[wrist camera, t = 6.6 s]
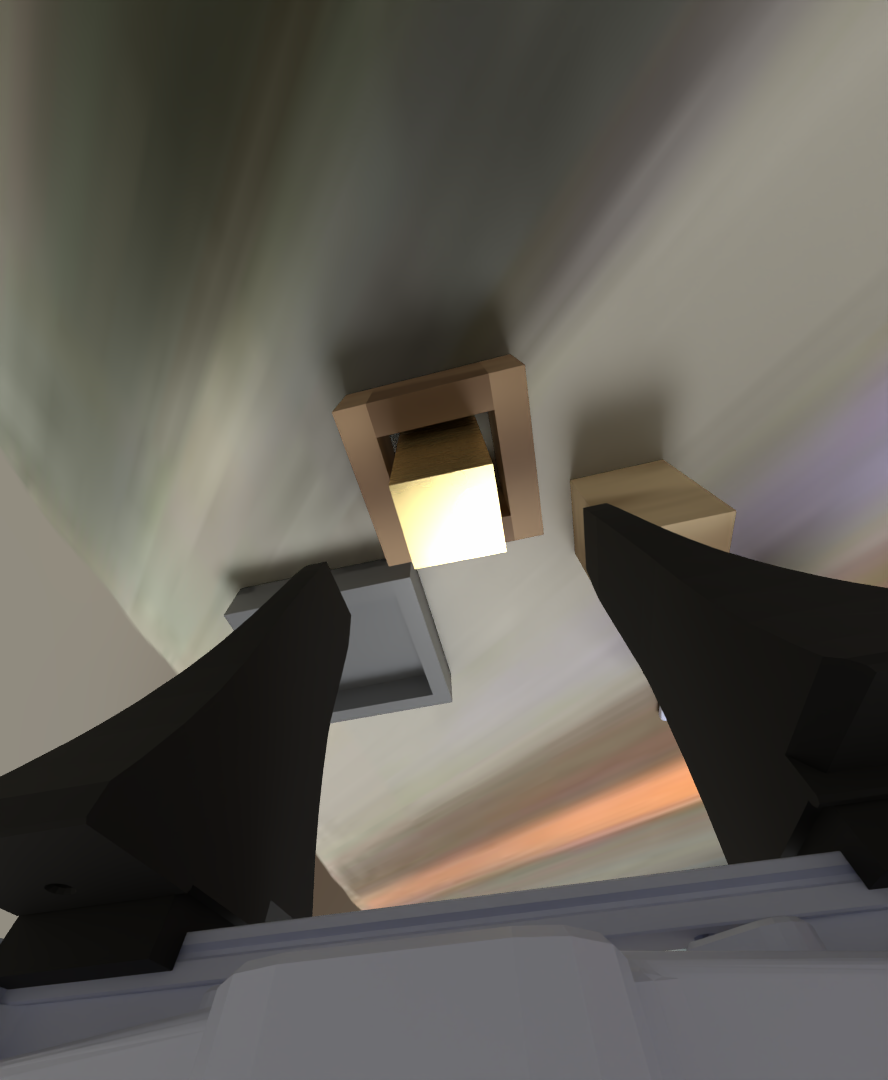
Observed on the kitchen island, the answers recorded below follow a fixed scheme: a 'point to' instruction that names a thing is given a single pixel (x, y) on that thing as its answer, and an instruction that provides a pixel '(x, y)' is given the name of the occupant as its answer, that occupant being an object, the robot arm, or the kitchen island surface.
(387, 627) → the tray
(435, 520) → the gold rectangular block
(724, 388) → the kitchen island surface
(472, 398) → the brown rectangular frame
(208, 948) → the robot arm
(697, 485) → the block
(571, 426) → the kitchen island surface
